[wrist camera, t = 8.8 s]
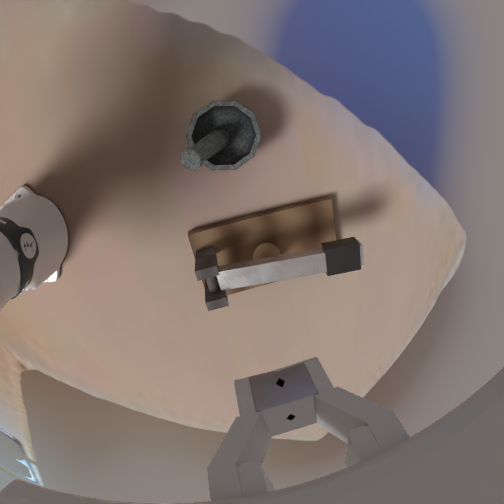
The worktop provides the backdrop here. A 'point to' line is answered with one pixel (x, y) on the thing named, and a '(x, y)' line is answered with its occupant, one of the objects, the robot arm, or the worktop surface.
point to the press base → (258, 240)
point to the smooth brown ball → (265, 251)
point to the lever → (294, 264)
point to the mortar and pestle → (221, 137)
